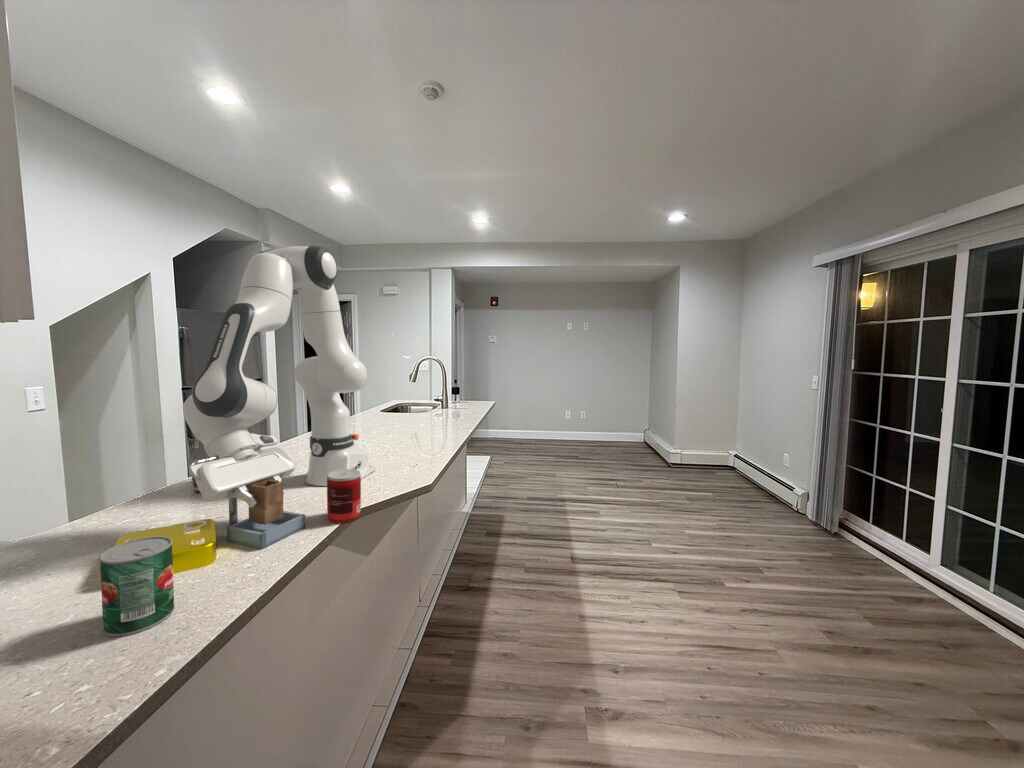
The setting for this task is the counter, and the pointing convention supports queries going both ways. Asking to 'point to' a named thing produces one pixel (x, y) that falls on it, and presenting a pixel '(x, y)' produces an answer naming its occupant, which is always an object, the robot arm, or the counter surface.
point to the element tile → (184, 543)
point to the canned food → (343, 495)
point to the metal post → (233, 511)
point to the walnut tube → (266, 501)
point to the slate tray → (265, 530)
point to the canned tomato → (137, 585)
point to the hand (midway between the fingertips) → (268, 500)
